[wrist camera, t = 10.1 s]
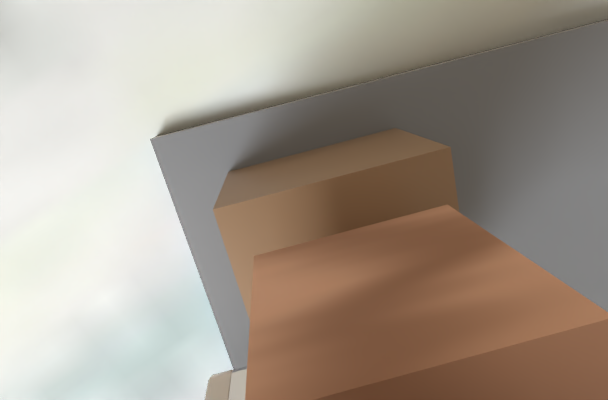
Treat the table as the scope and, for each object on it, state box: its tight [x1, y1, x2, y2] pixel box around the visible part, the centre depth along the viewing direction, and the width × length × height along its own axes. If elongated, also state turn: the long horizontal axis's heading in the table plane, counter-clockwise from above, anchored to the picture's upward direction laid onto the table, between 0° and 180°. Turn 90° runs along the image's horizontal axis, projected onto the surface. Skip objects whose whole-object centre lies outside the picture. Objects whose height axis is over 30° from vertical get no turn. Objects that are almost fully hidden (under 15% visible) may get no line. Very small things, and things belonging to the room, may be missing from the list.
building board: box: [150, 19, 608, 369], centre depth 16 cm, size 20×15×6 cm
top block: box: [245, 204, 608, 400], centre depth 8 cm, size 5×5×5 cm
